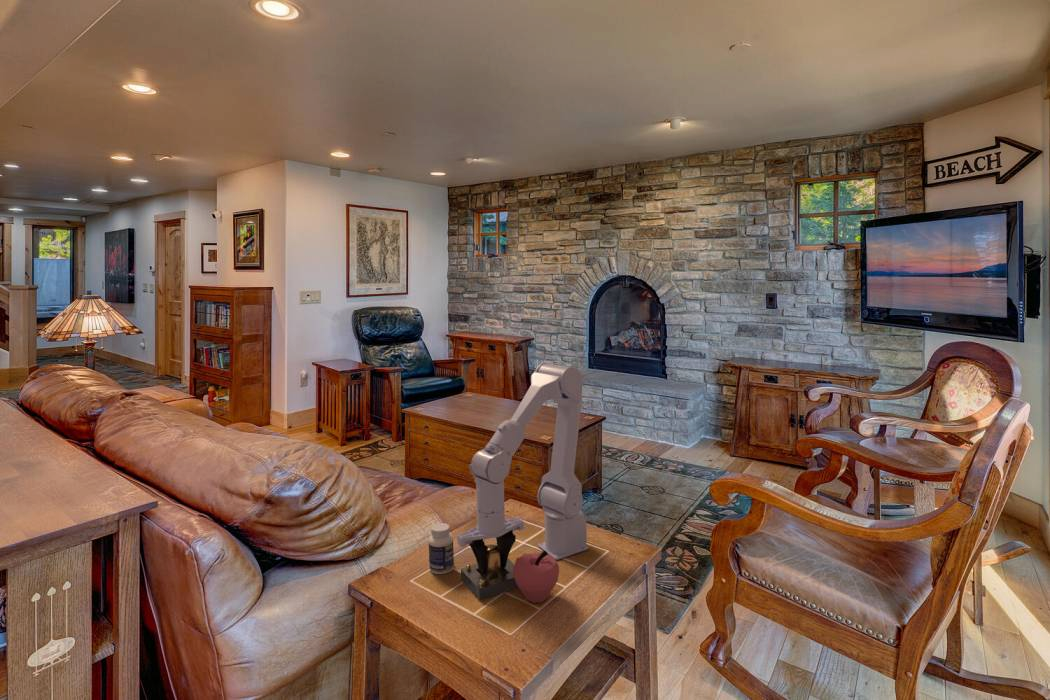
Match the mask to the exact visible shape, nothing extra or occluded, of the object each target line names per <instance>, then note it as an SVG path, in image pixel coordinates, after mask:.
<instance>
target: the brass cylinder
mask: <svg viewBox="0 0 1050 700" xmlns="http://www.w3.org/2000/svg"><path fill="white" fill-rule="evenodd" d="M486 546H487V547H488V551H487V557H486V566H487V572H486V574H484V575H483V578H484V579H485V580H486V581H489V580H492V579H495V578H498V577H501V576H502V571H501V548H500V547H498V546H497V544H487V545H486Z"/></svg>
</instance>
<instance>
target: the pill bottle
mask: <svg viewBox="0 0 1050 700" xmlns="http://www.w3.org/2000/svg"><path fill="white" fill-rule="evenodd" d="M430 529H431V530H430V532H431V533H430V534H431V535H429V538H428V562H429V563H428V564H429V570H430V572H431V573H432V574H435V575H445V574H448V573H450V572H452V571H453V569H454V567H455V558H454V557H455V554H454V552H455V551H454V538H453V537H454V536H453V535H452V534H451V533H450V532H451V531H450V530H451V529H450V525H449V524H448V523H445V522H444V523H443V522H442V523H435V524H433V525H431V527H430Z"/></svg>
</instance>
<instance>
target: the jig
mask: <svg viewBox="0 0 1050 700" xmlns="http://www.w3.org/2000/svg"><path fill="white" fill-rule="evenodd" d="M514 565H515V562H513V561H511V560H510V559H509V558H508V559H507V563H506V567H505V568H502V567H501V571H502V576H501V577H498V578H495V579H492V580H489V581H486V580H485V579H484V578H483V574H482V573H481V572H480V571H479V567H478V563H476V564H470V563H467V564H466V565H465V567H462V568H460V580H461V581H462V583H463V584H464V585H465V586H466V587H467V588H468V589H469V590H470V592H471V593H472V594H473V595H474V596H475V597H476V599H477V600H478V601H483V600H486V599H489V598H492V597H494V596H498V595H500V594H503V593H506V592H508V591H511V590H512V591H513V590H514V589H519V587H518V585H517V583H516V581H515V578H514V574H513V567H514Z"/></svg>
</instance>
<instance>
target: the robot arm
mask: <svg viewBox="0 0 1050 700" xmlns="http://www.w3.org/2000/svg"><path fill="white" fill-rule="evenodd" d="M584 379H585V377H584V376H583V374H582V373H581V372H580V370H579V369H578V368H577V367H575V366H567V365H560V364H555V363H550V362H546V361H545V362H541V363H539V365H537V367H536V368H535V370H534V372H533V373H532V374H531V376H530V384H531V385H530V386H529V388H528V389H527V391H526V392H525V395H524V396H523V398H522V400H521V402H520V403H519V405H518V406H517V408H516V409H515V412H514V413H513V415H512V417H511V418H509V419H506V420H503V421H502V422H501V423H500V424H499V425H497V430H496V431H495V432H494V434H493V435H492V436H491V438H490V440H489V441H488V442H487V444H486V445H485V447H484V449H480V450H478V451H477V452H476V453H475V454H474V455H473V456H472V459H471V461H470V462H471V463H470V464H469V465H468V468H469V472H470V473H471V474H472V475H473V477H474V483H475V487H476V489H475V490H476V491H475V492H476V519H477V522H476V523H477V525H476V526H474V527H472V528H470V529H468V530H467V531H464V532H463V533H462V532H461V533H460V534H457V544H458V546H459V547H460V548H465V547H467V545H469V547H470V548H471V551H472V552H473V555H474V557H475V561H476V564H478V567H479V571H480V572H481V573H482V574H483V575H484V574H486V572H487V566H486V557H487V551H488V547H487V545H486V543H485V541H484V540H486V539H488V540H489V539H495V541H496V545H497V546H498V547H500V548H501V567H502V568H505V567H506V563H507V559H509V555H510V552H511V550H512V548H513V545H514V544H515V542H516V537H517V536H516V535H515V534H514V533H513V532H515V531H517V530H518V531H522V530H524V529H525V527H524V520H522V519H521V518H520V517H516V518H513V519H512V518H511V519H506V518H505V517H506V515H505V514H506V513H505V510H506V509H505V481H504V480H505V479H506V478H507V477H508V476H509V473H510V469H511V463H512V460H513V458H512V457H513V456H514V455H515V453H516V452H517V450H518V449H519V447H520V446H521V444H522V442H523V441H524V439H525V438H526V430H525V428H526V426H527V425H528V424H529V423H530V422H531V420H532V419H534V417H535V415H536V414H537V413H538V411H539V410H540V409H541V407H542V406H543V405H544V404H545V402H548V401H551V400H553V401H554V402H555V403H556V404H557V410H556V417H555V418H556V419H555V425H554V436H553V443H552V444H553V445H552V454H551V462H550V470H549V472H547V473H545V474H544V475H542V476H541V483H540V486H539V488H538V490H537V494H536V495H537V502H538V504H539V505H540V506H541V507H542V511H543V513H544V541H543V542H541V543H540V542H539V543H538V544H537V547H538V548H540V549H541V550H543V551H544V550H545V551H546V552H547V553H548V555H549V556H553V558H554V559H555V561H557V560H561V559H563V558H567V557H569V556H570V557H571V556H573V555H575V554H578V553H582V552H584V551H587V550H589V546H588V545H587V544H588V543H587V539H588V538H587V534H588V533H587V531H588V530H587V518H586V515H585V514H584V512H583V510H582V507H583V503H584V498H583V494H582V493H583V492H582V490H583V489H582V488H583V485H582V483H581V482H580V480H579V479H578V477H577V476H576V475H575V466H576V465H575V464H576V456H577V448H578V447H577V446H578V441H579V440H578V439H579V438H578V437H579V430H580V421H581V412H582V402H583V395H582V394H583V388H584V387H583V386H584ZM543 551H542V552H543Z"/></svg>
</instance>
